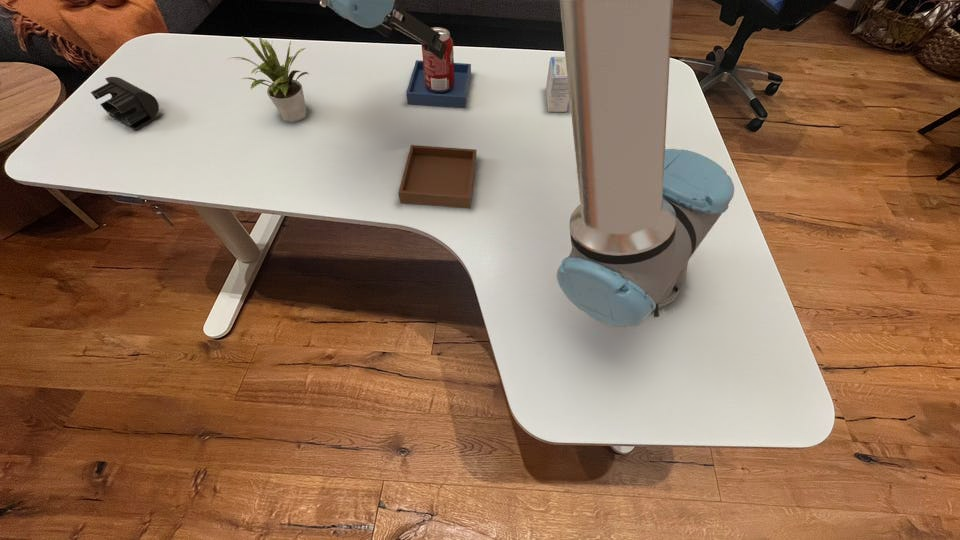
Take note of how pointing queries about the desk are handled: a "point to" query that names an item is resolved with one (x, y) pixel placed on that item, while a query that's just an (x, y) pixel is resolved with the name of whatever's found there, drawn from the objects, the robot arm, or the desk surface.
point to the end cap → (127, 103)
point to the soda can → (439, 65)
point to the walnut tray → (438, 176)
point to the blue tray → (449, 98)
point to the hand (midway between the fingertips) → (416, 41)
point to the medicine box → (557, 85)
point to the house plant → (280, 82)
